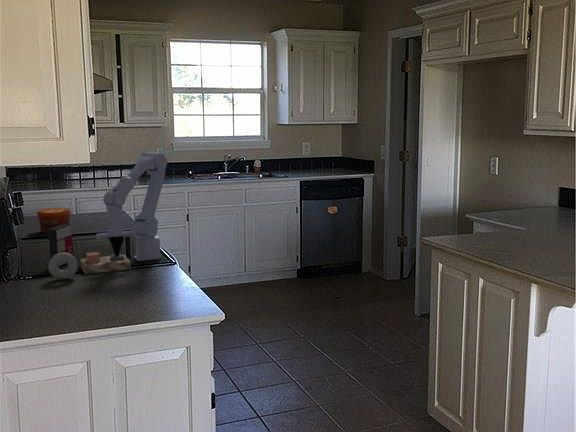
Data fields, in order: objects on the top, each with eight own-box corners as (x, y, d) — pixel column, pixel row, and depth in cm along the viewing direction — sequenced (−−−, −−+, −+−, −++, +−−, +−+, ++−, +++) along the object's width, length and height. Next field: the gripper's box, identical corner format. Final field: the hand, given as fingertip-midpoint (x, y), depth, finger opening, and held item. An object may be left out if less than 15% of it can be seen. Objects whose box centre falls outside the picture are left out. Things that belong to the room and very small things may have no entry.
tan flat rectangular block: (124, 261, 246) (124, 254, 245) (130, 268, 235) (130, 261, 235) (80, 266, 238) (80, 258, 238) (85, 273, 228) (84, 266, 227)
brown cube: (98, 261, 237) (97, 252, 236) (100, 264, 233) (99, 254, 233) (86, 263, 235) (86, 253, 235) (88, 265, 231) (87, 255, 231)
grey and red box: (59, 267, 236) (57, 229, 233) (49, 267, 237) (47, 229, 234) (74, 260, 247) (72, 224, 244) (65, 260, 247) (62, 224, 245)
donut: (78, 276, 224) (76, 250, 222) (78, 279, 221) (77, 252, 219) (49, 279, 220) (47, 252, 218) (49, 281, 217) (47, 254, 215)
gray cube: (121, 263, 241) (121, 253, 241) (124, 266, 238) (123, 256, 237) (110, 264, 239) (110, 254, 239) (112, 267, 236) (112, 257, 235)
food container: (40, 229, 307) (39, 208, 305) (73, 228, 311) (72, 207, 309) (35, 235, 292) (33, 213, 290) (70, 234, 296) (69, 212, 294)
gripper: (97, 224, 229) (99, 259, 231) (136, 222, 235) (137, 256, 237) (94, 221, 235) (96, 255, 237) (132, 218, 241) (133, 252, 244)
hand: (116, 255), depth 238 cm, fingers closed, pressing on gray cube
